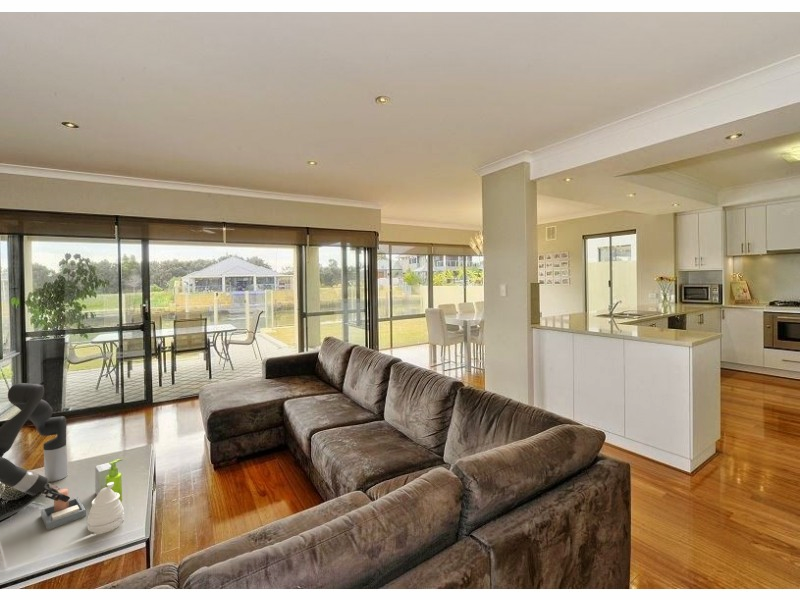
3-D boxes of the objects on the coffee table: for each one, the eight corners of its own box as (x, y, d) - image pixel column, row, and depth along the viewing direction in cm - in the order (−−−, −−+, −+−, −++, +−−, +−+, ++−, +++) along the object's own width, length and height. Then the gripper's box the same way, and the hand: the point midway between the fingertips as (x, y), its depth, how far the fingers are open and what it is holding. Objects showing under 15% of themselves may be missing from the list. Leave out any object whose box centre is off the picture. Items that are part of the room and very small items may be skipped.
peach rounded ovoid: (53, 509, 175) (52, 492, 175) (67, 504, 179) (66, 487, 179) (55, 513, 172) (54, 496, 172) (69, 508, 176) (69, 491, 176)
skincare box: (95, 494, 193) (94, 466, 192) (109, 489, 197) (108, 461, 196) (99, 501, 187) (98, 471, 186) (114, 495, 192) (113, 467, 191)
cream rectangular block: (51, 522, 169) (50, 513, 169) (77, 513, 176) (77, 504, 176) (53, 526, 167) (52, 517, 166) (79, 516, 174) (79, 508, 173)
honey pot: (122, 512, 179) (120, 474, 178) (126, 525, 170) (125, 485, 168) (86, 523, 170) (84, 484, 169) (88, 538, 161) (87, 496, 160)
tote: (41, 518, 174) (40, 509, 174) (78, 505, 184) (77, 497, 184) (47, 532, 164) (47, 523, 164) (86, 517, 174) (85, 509, 174)
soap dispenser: (127, 498, 190) (125, 459, 189) (112, 506, 183) (111, 465, 182) (118, 496, 192) (117, 457, 190) (104, 503, 185) (102, 463, 184)
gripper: (40, 479, 164) (77, 495, 174) (35, 469, 173) (70, 484, 183) (24, 497, 161) (62, 511, 170) (19, 485, 170) (56, 499, 180)
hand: (66, 497), depth 177 cm, fingers closed on peach rounded ovoid, 5 cm apart
